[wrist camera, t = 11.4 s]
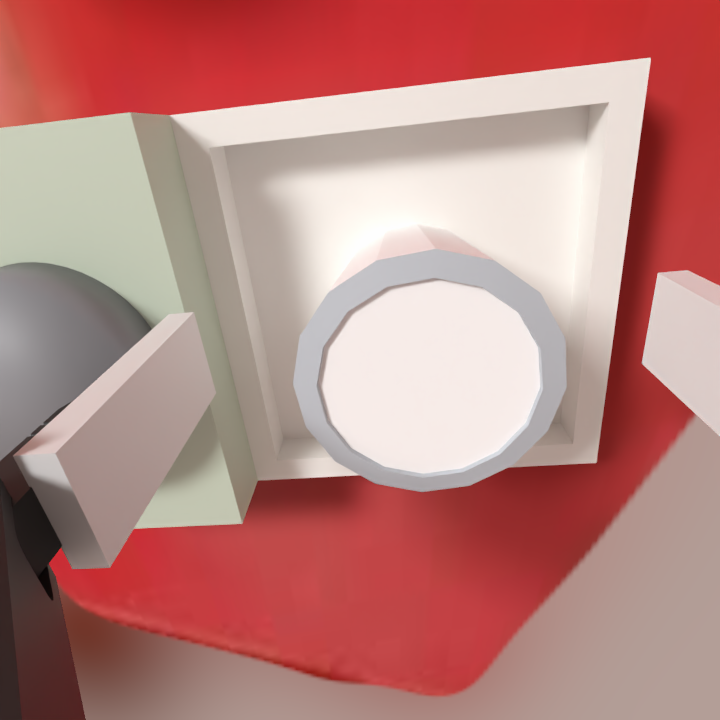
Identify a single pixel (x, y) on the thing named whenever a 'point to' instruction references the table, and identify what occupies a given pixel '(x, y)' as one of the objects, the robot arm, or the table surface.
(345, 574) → the table surface
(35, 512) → the robot arm
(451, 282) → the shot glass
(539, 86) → the knobbed tray panel
